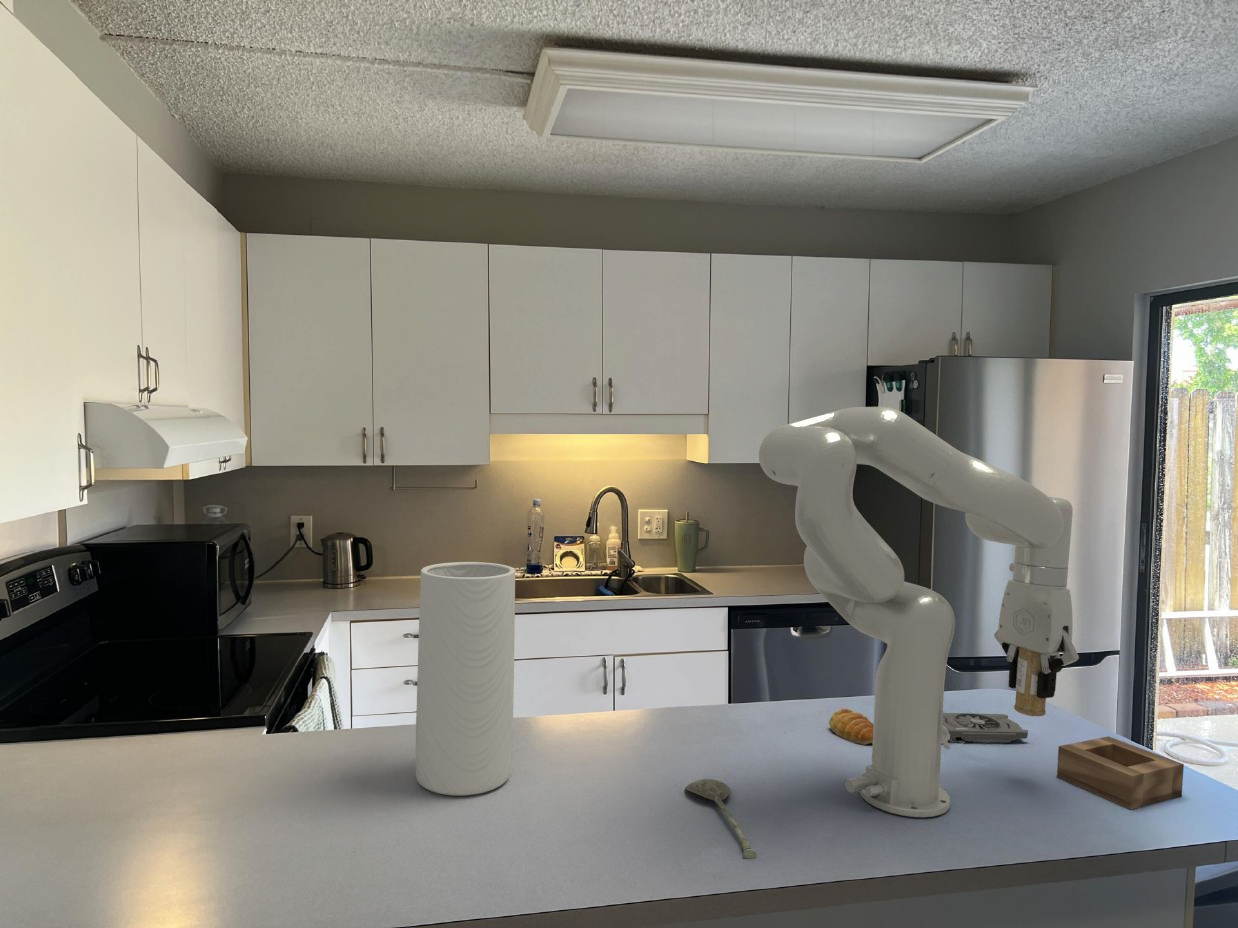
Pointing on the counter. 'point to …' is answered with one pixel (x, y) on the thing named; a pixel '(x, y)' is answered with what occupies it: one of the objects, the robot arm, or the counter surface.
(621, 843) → the counter surface
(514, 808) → the counter surface
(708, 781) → the soupspoon
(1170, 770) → the walnut holder
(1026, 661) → the sprinkles bottle
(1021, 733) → the graphics card
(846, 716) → the pastry
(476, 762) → the vase
